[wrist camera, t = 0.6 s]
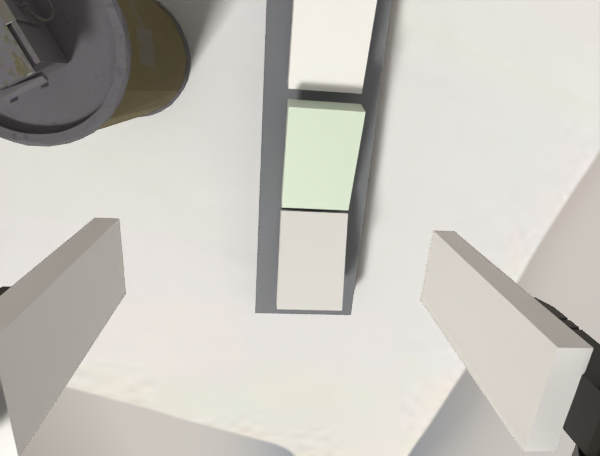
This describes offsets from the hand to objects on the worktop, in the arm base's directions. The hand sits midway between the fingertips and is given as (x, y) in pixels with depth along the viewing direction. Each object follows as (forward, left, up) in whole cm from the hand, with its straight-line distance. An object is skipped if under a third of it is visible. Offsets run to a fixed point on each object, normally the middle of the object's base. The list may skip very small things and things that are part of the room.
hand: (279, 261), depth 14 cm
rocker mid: (+4, 0, -23) cm, 23 cm away
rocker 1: (+4, +10, -23) cm, 25 cm away
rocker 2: (+4, -10, -23) cm, 25 cm away
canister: (-13, +7, -28) cm, 32 cm away
